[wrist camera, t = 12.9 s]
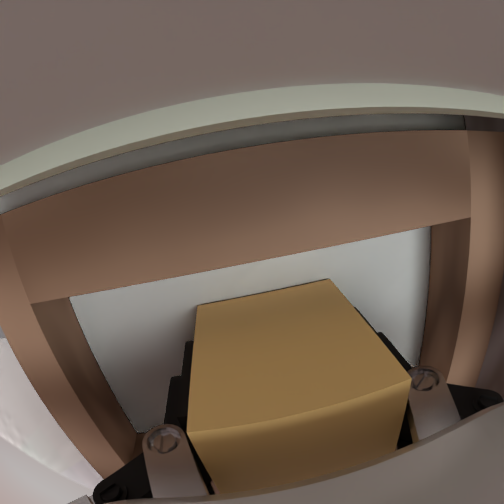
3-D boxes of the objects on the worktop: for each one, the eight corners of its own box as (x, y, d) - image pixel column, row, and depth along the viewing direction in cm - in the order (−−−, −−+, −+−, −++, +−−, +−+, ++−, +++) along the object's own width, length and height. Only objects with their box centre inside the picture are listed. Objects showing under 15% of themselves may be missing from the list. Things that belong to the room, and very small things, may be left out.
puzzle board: (459, 385, 15) (514, 448, 9) (126, 464, 14) (113, 554, 8) (468, 40, 9) (573, 18, 3) (-13, 109, 8) (-131, 106, 2)
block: (334, 377, 13) (385, 480, 7) (226, 400, 13) (235, 517, 7) (329, 278, 12) (411, 378, 6) (197, 305, 11) (186, 432, 6)
